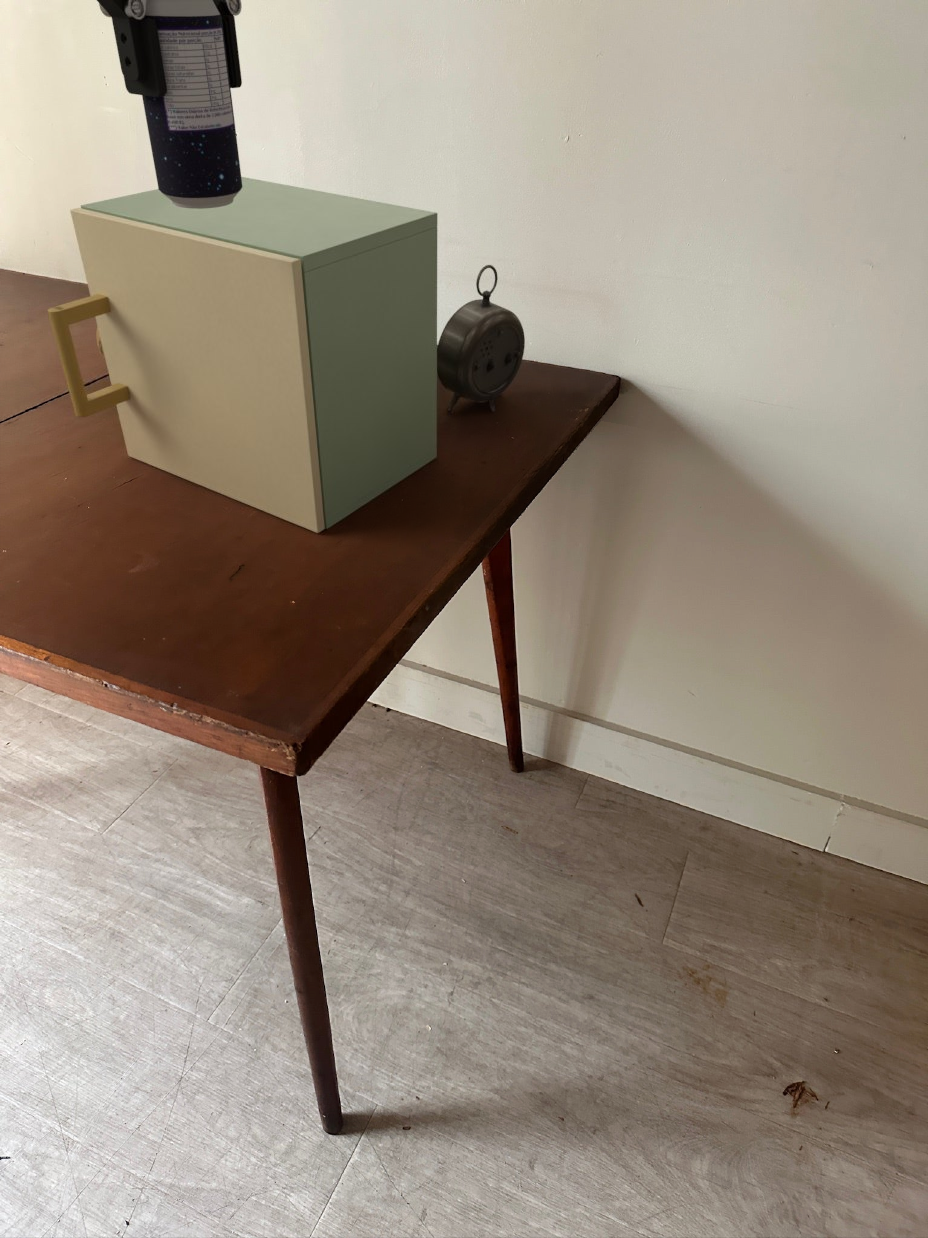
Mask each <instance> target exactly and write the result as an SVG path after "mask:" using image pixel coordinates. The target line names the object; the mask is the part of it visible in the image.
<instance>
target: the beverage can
mask: <svg viewBox="0 0 928 1238" xmlns="http://www.w3.org/2000/svg"><path fill="white" fill-rule="evenodd" d="M145 18H146V19H154V20H155V24H156V26H157V30H158V36H159V43H160V49H161V55H162V61H163V68H164V74H165V80H166V86H167V93H166V94H165V96H163V97H151V96H144V95H141V97H142V103H143V108H144V115H145V119H146V126H147V131H148V132H147V133H148V137H149V138H148V139H149V143H150V148H151V155H152V160H153V165H154V170H155V177H156V182H157V187H158V188H157V189H159V190H160V191H161V192H162V193H163V194H164V195H165V196H166V197H168V198H169V199H170V200H171V201H172V203H173V204H174V205H176V206H179V207H184V208H196V209H202V208H216V207H222V206H226V205H229V204H231V203H232V202H233V200H234V199H233V198H234V197H235V196H236V195H237V194H238V193H239V191H240V190H241V189H242V179H241V177H242V172H241V170H242V169H241V163H240V155H239V146H238V138H237V131H236V123H235V121H236V120H235V113H234V105H233V98H232V90H231V89H232V88H230V80H229V72H228V64H227V56H226V48H225V40H224V31H223V23H222V17H221V15H220V13H219V11H218V10H217V8H216V6H215V4H214V2H213V0H147V3H146V13H145Z"/></svg>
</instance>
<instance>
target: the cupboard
mask: <svg viewBox="0 0 928 1238" xmlns="http://www.w3.org/2000/svg"><path fill="white" fill-rule="evenodd" d="M241 179H242V189H241V190H240V191H239V193H238V194H237V195H236V196H235V197H234V198H233V199H234V200H233V202H232V203H231V204H229V205H226V206H222V207H216V208H202V209H196V208H184V207H179V206H176V205H174V204H173V203H172V201H171V200H170V199H169V198H168V197H166V196H165V195H164V194H163V193H162V192H161V191H160V190H159V189H158V188H157V189H151V190H147V191H143V192H138V193H133V194H128V195H123V196H118V197H114V198H113V197H112V198H109V199H104V200H100V201H95V202H90V203H86V204H85V203H84V204H81V205H80V208H82V209H86V210H90V211H94V212H99V213H103V214H107V215H112V216H116V217H120V218H125V219H129V220H133V221H137V222H142V223H146V224H150V225H155V226H159V227H163V228H168V229H172V230H176V231H180V232H185V233H189V234H193V235H198V236H202V237H206V238H210V239H215V240H219V241H223V242H228V243H232V244H236V245H241V246H245V247H249V248H253V249H258V250H262V251H266V252H271V253H275V254H279V255H283V256H288V257H292V258H296V259H300V260H301V269H302V280H303V291H304V302H305V314H306V325H307V336H308V347H309V359H310V370H311V381H312V392H313V403H314V415H315V426H316V437H317V448H318V460H319V471H320V482H321V493H322V504H323V516H324V527H325V529H326V530H328V529H329V528H331V527H332V526H334V525H336V524H337V523H339V522H340V521H342V520H343V519H345V518H346V517H348V516H349V515H351V514H352V513H354V512H355V511H357V510H359V509H361V507H363V506H365V505H366V504H368V503H369V502H371V501H372V500H374V499H375V498H377V497H379V496H380V495H382V494H383V493H384V492H386V491H388V490H389V489H391V488H392V487H394V486H395V485H397V484H398V483H400V482H401V481H403V480H404V479H406V478H407V477H408V476H411V475H412V474H414V473H415V472H417V471H418V470H419V469H421V468H422V467H424V466H425V465H427V464H429V463H430V462H432V461H434V460H435V459H437V456H438V451H437V450H438V448H437V447H438V444H437V443H438V436H437V435H438V434H437V433H438V426H437V425H438V374H437V347H438V212H435V211H429V210H425V209H419V208H413V207H408V206H403V205H397V204H392V203H386V202H381V201H375V200H371V199H364V198H359V197H353V196H348V195H342V194H339V193H338V194H337V193H332V192H327V191H321V190H316V189H310V188H305V187H301V186H300V187H298V186H294V185H288V184H283V183H279V182H278V183H277V182H272V181H267V180H261V179H256V178H250V177H245V176H241Z"/></svg>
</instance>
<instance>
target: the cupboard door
mask: <svg viewBox="0 0 928 1238" xmlns="http://www.w3.org/2000/svg"><path fill="white" fill-rule="evenodd" d="M69 211H70V215H71V221H72V225H73V228H74V229H73V230H74V232H75V237H76V241H77V246H78V250H79V255H80V259H81V263H82V267H83V270H84V271H83V272H84V275H85V280H86V283H87V287H88V292H89V296H87V297H82V298H80V299H76V300H72V301H70V302H66V303H62V304H59V305H56V306H53V307H52V306H51V307H49V308H47V313H48V314H47V315H48V317H49V321H50V325H51V328H52V332H53V333H52V334H53V336H54V339H55V343H56V348H57V351H58V355H59V358H60V362H61V366H62V371H63V374H64V377H65V381H66V385H67V388H68V391H69V392H68V393H69V395H70V398H71V404H72V406H73V409H74V414H75V416H76V417H77V418H86V417H90V416H92V415H94V414H97V413H99V412H102V411H105V410H107V409H109V408H111V407H114V406H116V409H117V410H116V411H117V414H118V418H119V423H120V427H121V431H122V435H123V439H124V444H125V447H126V451H127V456H128V457H130V458H132V459H135V460H137V461H140V462H142V463H144V464H147V465H149V466H153V467H155V468H157V469H159V470H162V471H164V472H167V473H169V474H172V475H174V476H176V477H178V478H182V479H184V480H186V481H189V482H191V483H194V484H196V485H198V486H201V487H204V488H206V489H208V490H211V491H213V492H216V493H218V494H221V495H222V496H223V495H224V496H225V497H228V498H230V499H232V500H235V501H238V502H240V503H243V504H244V505H248V506H249V507H252V508H255V509H258V510H260V511H262V512H265V513H267V514H270V515H272V516H274V517H277V518H278V519H279V518H280V519H282V520H285V521H287V522H289V523H292V524H294V525H296V526H299V527H301V528H304V529H307V530H309V531H311V532H313V533H316V534H320V533H321V532H322V531H324V530H325V529H326V528H325V527H324V516H323V504H322V493H321V482H320V471H319V460H318V448H317V437H316V426H315V415H314V403H313V392H312V381H311V370H310V359H309V347H308V336H307V325H306V314H305V302H304V291H303V280H302V269H301V260H300V259H296V258H292V257H288V256H283V255H279V254H275V253H271V252H266V251H262V250H258V249H253V248H249V247H245V246H241V245H236V244H232V243H228V242H223V241H219V240H215V239H210V238H206V237H202V236H198V235H193V234H189V233H185V232H180V231H176V230H172V229H168V228H163V227H159V226H155V225H150V224H146V223H142V222H137V221H133V220H129V219H125V218H120V217H116V216H112V215H107V214H103V213H99V212H94V211H90V210H86V209H82V208H81V207H76V208H71V209H70V210H69ZM92 318H95V322H96V326H97V328H98V330H99V334H100V338H101V343H102V347H103V351H104V355H105V360H106V362H105V364H106V367H107V372H108V376H109V380H110V384H111V385H109V386H106V387H104V388H101V389H98V390H96V391H93V392H91V393H88V394H87V391H86V388H85V382H84V380H83V376H82V372H81V368H80V364H79V361H78V356H77V353H76V348H75V345H74V341H73V337H72V332H71V329H70V325H73V324H76V323H80V322H82V321H83V322H84V321H85V320H89V319H92Z"/></svg>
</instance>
